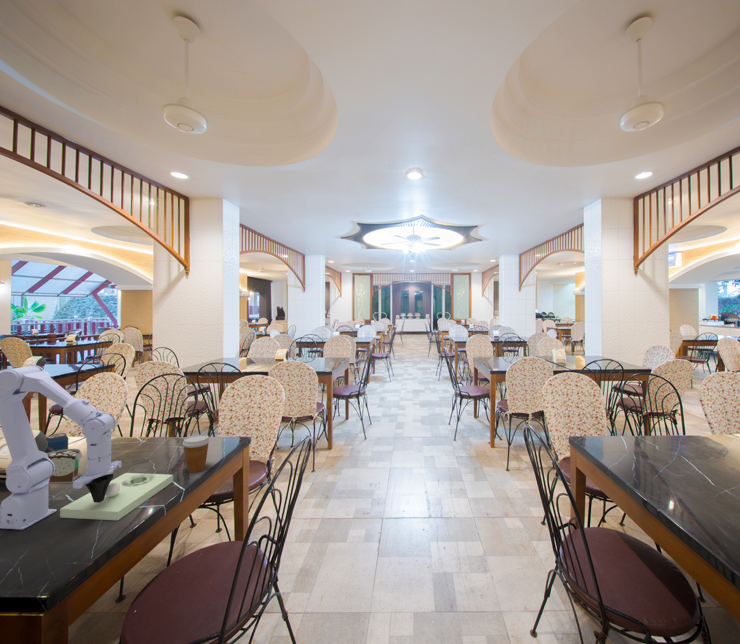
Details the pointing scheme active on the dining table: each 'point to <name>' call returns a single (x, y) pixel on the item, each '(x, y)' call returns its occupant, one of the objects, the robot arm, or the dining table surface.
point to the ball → (112, 490)
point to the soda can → (57, 442)
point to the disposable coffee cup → (196, 452)
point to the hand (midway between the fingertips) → (98, 501)
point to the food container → (65, 465)
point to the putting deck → (118, 497)
